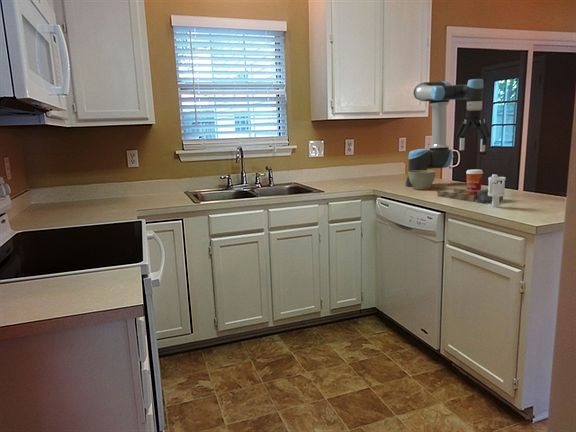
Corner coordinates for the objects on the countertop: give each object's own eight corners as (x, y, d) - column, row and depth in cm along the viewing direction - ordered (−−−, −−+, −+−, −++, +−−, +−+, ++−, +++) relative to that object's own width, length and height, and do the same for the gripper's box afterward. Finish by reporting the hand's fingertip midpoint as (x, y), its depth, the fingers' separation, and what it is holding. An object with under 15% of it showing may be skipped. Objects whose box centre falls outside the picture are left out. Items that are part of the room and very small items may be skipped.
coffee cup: (461, 199, 224) (462, 170, 221) (469, 197, 229) (470, 169, 226) (477, 200, 217) (478, 171, 214) (485, 198, 222) (486, 169, 219)
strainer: (498, 205, 204) (500, 173, 201) (506, 207, 197) (508, 175, 194) (484, 206, 204) (485, 174, 201) (491, 208, 197) (493, 176, 194)
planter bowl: (436, 190, 255) (437, 172, 253) (408, 191, 258) (409, 173, 256) (433, 186, 270) (433, 169, 268) (407, 187, 274) (407, 170, 272)
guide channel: (437, 196, 236) (437, 185, 235) (456, 193, 242) (456, 182, 241) (483, 203, 210) (483, 191, 208) (503, 200, 216) (503, 188, 214)
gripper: (450, 110, 234) (448, 150, 238) (489, 109, 212) (486, 152, 217) (460, 110, 237) (458, 149, 242) (499, 108, 215) (496, 151, 220)
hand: (471, 150), depth 229 cm, fingers open, 13 cm apart
